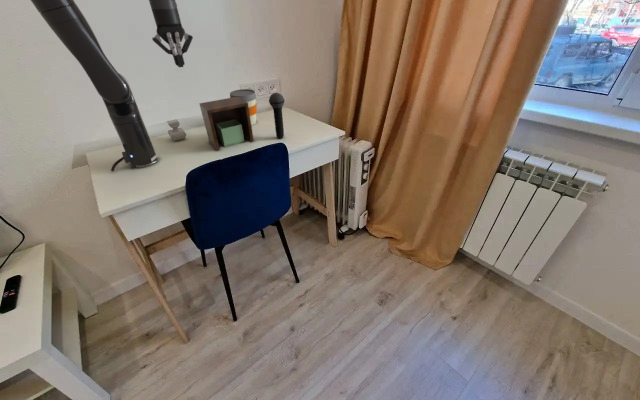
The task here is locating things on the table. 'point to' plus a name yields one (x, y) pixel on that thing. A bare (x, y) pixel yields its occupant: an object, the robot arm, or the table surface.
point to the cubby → (226, 117)
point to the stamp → (176, 130)
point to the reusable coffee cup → (249, 98)
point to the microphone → (277, 113)
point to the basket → (230, 132)
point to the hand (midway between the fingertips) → (180, 66)
